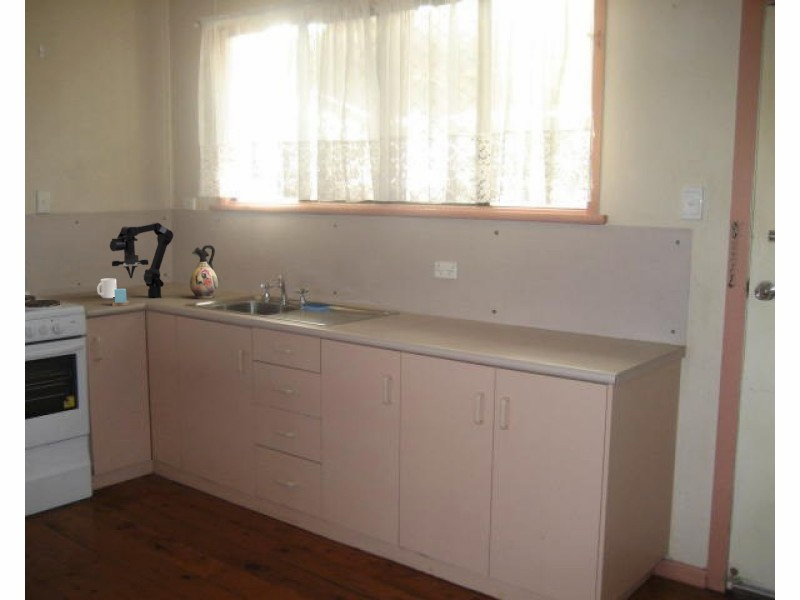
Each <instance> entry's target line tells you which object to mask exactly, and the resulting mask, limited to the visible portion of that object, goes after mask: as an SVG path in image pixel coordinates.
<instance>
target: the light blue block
mask: <svg viewBox="0 0 800 600" xmlns="http://www.w3.org/2000/svg"><path fill="white" fill-rule="evenodd" d="M114 292H115V298H114V301H115V303H122V302H126V301H127V289H126V288H117V289H115V290H114Z"/></svg>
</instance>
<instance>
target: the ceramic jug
mask: <svg viewBox="0 0 800 600" xmlns="http://www.w3.org/2000/svg"><path fill="white" fill-rule="evenodd" d="M208 249H210V250H211V255H210V254H209V252H208V251H207V250H208ZM215 251H216V250H215V247H214V246H213V245H212V244H205V245H204V246H202V248H200V247H198V246H197V247H195V249H194V250H193V251H192V252H191V254H193V255H194V256H195V255H196V256H197V257H199V262H198V263H197V265H196V266H195V268H194V270H193V271H192V273H191V275H190V279H189V287H190V290H191V292H192V293H193V294H194V295H195V298H196V299H198V298H199V299H198V300H202V299H204V300H205V299H206V298H207V299H212V298H214V295H215V293H216V292H217V290H218V288H219V280H218V276H217V274H216V272H215V270H214V265H213V261H214V257H215V254H216V253H215ZM209 256H210V257H209ZM208 257H209V260H208V259H207V258H208Z"/></svg>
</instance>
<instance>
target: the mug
mask: <svg viewBox="0 0 800 600" xmlns="http://www.w3.org/2000/svg"><path fill="white" fill-rule="evenodd" d="M115 289H118V288H117V278H111V277H110V278H109V277H108V278H107V277H106V278H101V279H100V282H99V283H98V284H97V287H96V292H97V294H98V295H100V296H101V298H103V299H114V298H113V297H115V292H114V290H115Z"/></svg>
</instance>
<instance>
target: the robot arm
mask: <svg viewBox="0 0 800 600" xmlns="http://www.w3.org/2000/svg"><path fill="white" fill-rule="evenodd" d="M147 232H148V233H149V232H154V234H155V235H157V237H156V239H157V240H156V241H157V246H156V250H155V252H154V255H153V259H152V263H151V265H150V268H149V269H148V268H147V269H145V271H144V273H143V281H144V283H145V285H146V287H148V289H147V297H148V298H150V299H153V298H152V297H160V298H162V287H164V281H163V280H162V279H161V272H160V268H161V266H162V263H163V259H164V255H165V253H166V249H167V247H168V246H169V244H170V243H171V242H172V241H173V238H174V233H173V231H172V230H170V229H168V228H167V227H165V226H164V225H162V224H161V223H160V222H152V223H146V224H141V225H138V226H137V225H136V226H127V225H126V226H122V227H121V229H120V232H119V233H118V235H117V237H116V238H115V237H113V238H111V241H110V242H109V250H110V251H112V252H121V251H123V259H124V260H120V259H113V260H111V266H112V267H119V266H121V265H122V266H123V268H125V270H126V271H127V274H128V275H129V278H130V279H133V275H134V273H135V269H136V268H137V267H138V265H140V264H141V265H142V266H148V265H149V260H148V259H147V258H140V259H139V255H137V254H136V246H135V245H136V244H135V242H138V240H139V239H137V238H136V236H138V235H140V234H144V233H147ZM130 265H131V268H130ZM130 269H131V270H130Z"/></svg>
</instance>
